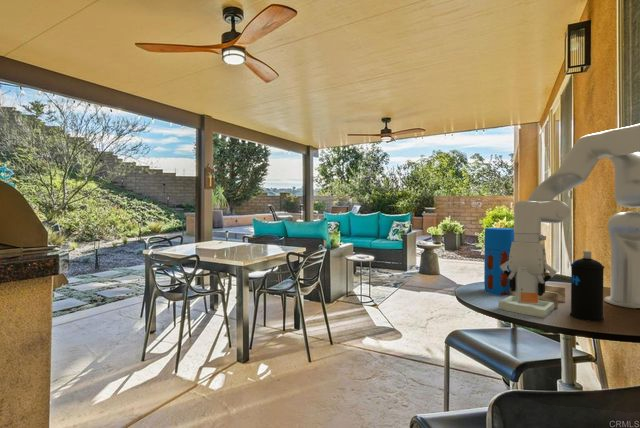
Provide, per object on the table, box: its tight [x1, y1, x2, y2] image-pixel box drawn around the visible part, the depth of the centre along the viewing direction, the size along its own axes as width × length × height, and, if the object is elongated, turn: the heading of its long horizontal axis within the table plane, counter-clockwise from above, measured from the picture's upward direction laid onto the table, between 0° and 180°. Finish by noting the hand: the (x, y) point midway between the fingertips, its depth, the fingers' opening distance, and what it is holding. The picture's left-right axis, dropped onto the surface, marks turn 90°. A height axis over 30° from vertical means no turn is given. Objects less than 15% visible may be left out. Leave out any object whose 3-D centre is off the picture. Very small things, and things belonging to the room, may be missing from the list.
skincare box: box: [515, 267, 539, 305], centre depth 113 cm, size 6×4×12 cm
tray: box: [498, 295, 555, 319], centre depth 113 cm, size 13×12×2 cm
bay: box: [508, 284, 566, 309], centre depth 123 cm, size 14×12×5 cm
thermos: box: [483, 227, 514, 296], centre depth 135 cm, size 11×11×25 cm
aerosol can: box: [569, 250, 606, 323], centre depth 104 cm, size 8×8×20 cm
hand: (526, 292), depth 113 cm, fingers closed on skincare box, 7 cm apart
